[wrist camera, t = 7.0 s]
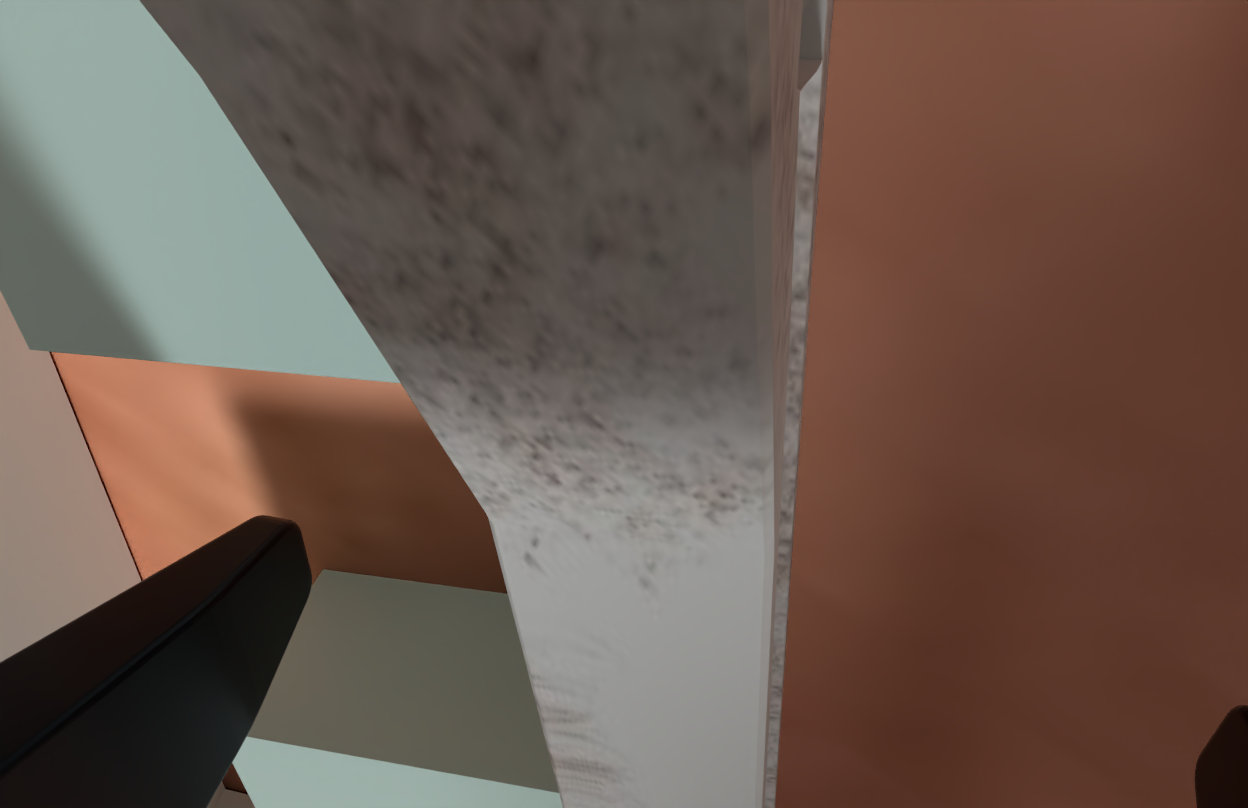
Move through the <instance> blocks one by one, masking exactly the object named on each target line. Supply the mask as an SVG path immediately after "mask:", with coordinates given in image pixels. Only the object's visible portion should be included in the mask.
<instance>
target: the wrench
mask: <svg viewBox="0 0 1248 808" xmlns="http://www.w3.org/2000/svg"><path fill="white" fill-rule="evenodd" d="M139 1H140V2H141V3H142V5H143V6H144V7H145V8H146V10H147V11H148V12H149V13H150V15H151V16H152V17H153V18H154V20H155V21H156V22H157V23H158V25H159V26H160V27H161V28H162V30H163V31H164V32H165V33H166V34H167V36H168V37H169V38H170V39H171V41H172V42H173V43H174V44H175V46H176V47H177V48H178V49H179V51H180V52H181V53H182V54H183V56H184V57H185V58H186V59H187V61H188V62H189V63H190V64H191V66H192V67H193V68H194V69H195V71H196V72H197V73H198V74H199V76H200V77H201V79H202V80H203V82H204V83H205V85H206V86H207V88H208V89H209V91H210V93H211V94H212V96H213V97H214V99H215V100H216V102H217V103H218V105H219V106H220V108H221V109H222V111H223V112H224V114H225V115H226V117H227V118H228V120H229V122H230V123H231V125H232V126H233V128H234V129H235V131H236V132H237V134H238V135H239V137H240V138H241V140H242V141H243V143H244V144H245V146H246V148H247V149H248V151H249V152H250V154H251V155H252V157H253V158H254V160H255V161H256V163H257V164H258V166H259V167H260V169H261V170H262V172H263V173H264V175H265V177H266V178H267V180H268V181H269V183H270V184H271V186H272V187H273V189H274V190H275V192H276V193H277V195H278V196H279V198H280V199H281V201H282V203H283V204H284V206H285V207H286V209H287V210H288V212H289V213H290V215H291V216H292V218H293V219H294V221H295V222H296V224H297V225H298V227H299V228H300V230H301V232H302V233H303V235H304V236H305V238H306V239H307V241H308V242H309V244H310V245H311V247H312V248H313V250H314V251H315V253H316V254H317V256H318V258H319V259H320V261H321V262H322V264H323V265H324V267H325V268H326V270H327V271H328V273H329V274H330V276H331V277H332V279H333V280H334V282H335V283H336V285H337V287H338V288H339V290H340V291H341V293H342V294H343V296H344V297H345V299H346V300H347V302H348V303H349V305H350V306H351V308H352V309H353V311H354V313H355V314H356V316H357V317H358V319H359V320H360V322H361V323H362V325H363V326H364V328H365V329H366V331H367V332H368V334H369V335H370V337H371V338H372V340H373V342H374V343H375V345H376V346H377V348H378V349H379V351H380V352H381V354H382V355H383V357H384V358H385V360H386V361H387V363H388V364H389V366H390V368H391V369H392V371H393V372H394V374H395V375H396V377H397V378H398V380H399V381H400V383H401V384H402V386H403V387H404V389H405V390H406V392H407V393H408V395H409V397H410V398H411V400H412V401H413V403H414V404H415V406H416V407H417V409H418V410H419V412H420V413H421V415H422V416H423V418H424V419H425V421H426V423H427V424H428V426H429V427H430V429H431V430H432V432H433V433H434V435H435V436H436V438H437V439H438V441H439V442H440V444H441V445H442V447H443V448H444V450H445V452H446V453H447V455H448V456H449V458H450V459H451V461H452V462H453V464H454V465H455V467H456V468H457V470H458V471H459V473H460V474H461V476H462V478H463V479H464V481H465V482H466V484H467V485H468V487H469V488H470V490H471V491H472V493H473V494H474V496H475V497H476V499H477V500H478V502H479V504H480V505H481V507H482V508H483V510H484V511H485V513H486V514H487V516H488V519H489V523H490V526H491V530H492V534H493V538H494V542H495V546H496V550H497V554H498V558H499V561H500V565H501V569H502V573H503V577H504V581H505V585H506V589H507V592H508V596H509V600H510V604H511V608H512V612H513V616H514V620H515V624H516V627H517V631H518V635H519V639H520V643H521V647H522V651H523V655H524V659H525V662H526V666H527V670H528V674H529V678H530V682H531V686H532V690H533V694H534V697H535V701H536V705H537V709H538V713H539V717H540V721H541V725H542V729H543V732H544V736H545V740H546V744H547V748H548V752H549V756H550V760H551V764H552V767H553V771H554V775H555V779H556V783H557V787H558V791H559V795H560V799H561V802H562V806H563V808H775V802H776V787H777V772H778V757H779V742H780V727H781V713H782V698H783V683H784V668H785V653H786V638H787V623H788V609H789V594H790V579H791V564H792V549H793V535H794V520H795V506H796V491H797V477H798V462H799V448H800V433H801V419H802V404H803V390H804V375H805V361H806V346H807V332H808V317H809V303H810V289H811V275H812V262H813V250H814V238H815V225H816V213H817V200H818V188H819V175H820V163H821V151H822V138H823V126H824V113H825V101H826V89H827V76H828V64H829V51H830V39H831V28H832V16H833V5H834V0H139Z"/></svg>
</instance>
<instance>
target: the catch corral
mask: <svg viewBox="0 0 1248 808" xmlns="http://www.w3.org/2000/svg"><path fill="white" fill-rule="evenodd" d="M139 582H141V579H140V576H139V574H138V571H137V569H136V566H135V564H134V561H133V559H132V556H131V554H130V552H129V549H128V547H127V544H126V542H125V539H124V537H123V534H122V532H121V529H120V527H119V524H118V522H117V519H116V517H115V514H114V512H113V509H112V507H111V504H110V502H109V499H108V497H107V495H106V492H105V490H104V487H103V485H102V482H101V480H100V477H99V475H98V472H97V470H96V467H95V465H94V462H93V460H92V457H91V455H90V452H89V450H88V447H87V445H86V442H85V440H84V437H83V435H82V433H81V430H80V428H79V425H78V423H77V420H76V418H75V415H74V413H73V410H72V408H71V405H70V403H69V400H68V398H67V395H66V393H65V390H64V388H63V385H62V383H61V380H60V378H59V376H58V373H57V371H56V368H55V366H54V363H53V361H52V358H51V356H50V353H49V352H48V351H37V350H30V349H29V347H28V345H27V343H26V341H25V339H24V337H23V335H22V333H21V331H20V329H19V327H18V325H17V323H16V321H15V319H14V317H13V315H12V313H11V311H10V309H9V307H8V305H7V303H6V301H5V299H4V297H3V295H2V293H1V291H0V662H2V661H3V660H5V659H7V658H9V657H10V656H12V655H14V654H15V653H17V652H19V651H21V650H22V649H24V648H26V647H28V646H29V645H31V644H33V643H35V642H36V641H38V640H40V639H42V638H43V637H45V636H47V635H49V634H50V633H52V632H54V631H56V630H57V629H59V628H61V627H63V626H64V625H66V624H68V623H70V622H71V621H73V620H75V619H77V618H78V617H80V616H82V615H83V614H85V613H87V612H89V611H90V610H92V609H94V608H96V607H97V606H99V605H101V604H103V603H104V602H106V601H108V600H110V599H111V598H113V597H115V596H117V595H118V594H120V593H122V592H124V591H125V590H127V589H129V588H131V587H132V586H134V585H136V584H138V583H139ZM207 808H255V806H254V804H253V802H252V800H251V798H250V796H249V795H247V794H243V793H239V792H235V791H231V790H227V789H225V787H224V785H223V782H221V783H220V785H219V787H218V789H217V791H216V792H215V794H214V796H213V798H212V799H211V801H210V803H209V805H208V806H207Z"/></svg>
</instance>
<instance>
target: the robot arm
mask: <svg viewBox="0 0 1248 808" xmlns="http://www.w3.org/2000/svg"><path fill="white" fill-rule="evenodd" d="M311 585H312V575H311V570H310V565H309V561H308V557H307V553H306V549H305V545H304V541H303V537H302V533H301V530H300V527H299V526H298V525H297V524H296V523H295V522H294V521H291V520H287V519H282V518H276V517H271V516H265V515H261V516H256V517H253V518H251V519H249V520H247V521H246V522H244V523H242V524H240V525H239V526H237V527H235V528H233V529H232V530H230V531H228V532H226V533H225V534H223V535H221V536H220V537H218V538H216V539H214V540H213V541H211V542H209V543H207V544H206V545H204V546H202V547H200V548H199V549H197V550H195V551H193V552H192V553H190V554H188V555H186V556H185V557H183V558H181V559H179V560H178V561H176V562H174V563H172V564H171V565H169V566H167V567H165V568H164V569H162V570H160V571H158V572H157V573H155V574H153V575H151V576H150V577H148V578H146V579H145V580H143V581H141V582H139V583H138V584H136V585H134V586H132V587H131V588H129V589H127V590H125V591H124V592H122V593H120V594H118V595H117V596H115V597H113V598H111V599H110V600H108V601H106V602H104V603H103V604H101V605H99V606H97V607H96V608H94V609H92V610H90V611H89V612H87V613H85V614H83V615H82V616H80V617H78V618H77V619H75V620H73V621H71V622H70V623H68V624H66V625H64V626H63V627H61V628H59V629H57V630H56V631H54V632H52V633H50V634H49V635H47V636H45V637H43V638H42V639H40V640H38V641H36V642H35V643H33V644H31V645H29V646H28V647H26V648H24V649H22V650H21V651H19V652H17V653H15V654H14V655H12V656H10V657H9V658H7V659H5V660H3V661H2V662H0V808H207V806H208V805H209V803H210V801H211V799H212V798H213V796H214V794H215V792H216V791H217V789H218V787H219V785H220V783H221V782H222V780H223V778H224V776H225V775H226V773H227V771H228V769H229V768H230V766H231V764H232V762H233V760H234V759H235V757H236V755H237V753H238V752H239V750H240V748H241V746H242V744H243V742H244V741H245V739H246V737H247V735H248V733H249V731H250V729H251V728H252V725H253V723H254V721H255V719H256V717H257V715H258V713H259V711H260V708H261V706H262V704H263V702H264V699H265V697H266V695H267V692H268V690H269V688H270V686H271V683H272V681H273V679H274V676H275V674H276V672H277V669H278V667H279V665H280V662H281V660H282V658H283V656H284V653H285V651H286V649H287V646H288V644H289V642H290V639H291V637H292V635H293V632H294V630H295V628H296V626H297V623H298V621H299V619H300V616H301V614H302V612H303V609H304V607H305V605H306V602H307V600H308V597H309V594H310V591H311ZM1195 791H1196V801H1197V808H1248V706H1247V705H1239V706H1237V707H1235V708H1233V709H1231V710H1230V711H1229V713H1228V714H1227V715H1226V717H1225V718H1224V720H1223V721H1222V723H1221V724H1220V726H1219V727H1218V729H1217V730H1216V732H1215V733H1214V735H1213V736H1212V738H1211V739H1210V741H1209V742H1208V743H1207V745H1206V746H1205V748H1204V749H1203V751H1202V752H1201V754H1200V756H1199V758H1198V761H1197V764H1196V769H1195Z"/></svg>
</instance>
